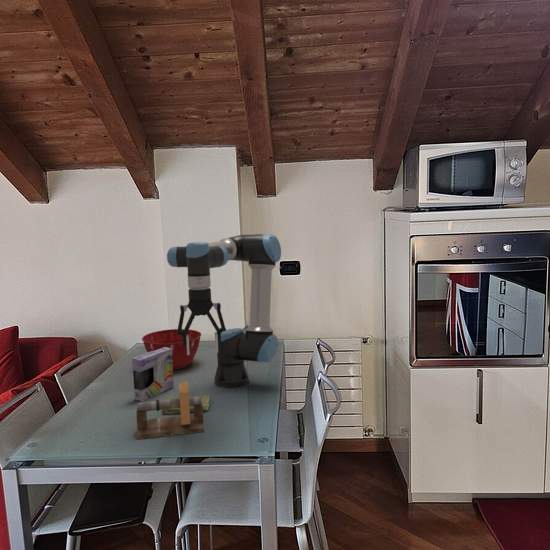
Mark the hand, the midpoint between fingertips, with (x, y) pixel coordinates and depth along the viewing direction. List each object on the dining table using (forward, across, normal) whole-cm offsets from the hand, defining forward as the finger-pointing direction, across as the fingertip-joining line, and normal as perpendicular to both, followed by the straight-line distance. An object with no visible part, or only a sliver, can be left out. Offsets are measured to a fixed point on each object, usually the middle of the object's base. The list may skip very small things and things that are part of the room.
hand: (202, 352), depth 167 cm
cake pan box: (+26, -19, +36) cm, 48 cm away
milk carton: (+26, +29, +77) cm, 86 cm away
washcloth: (+26, -6, +18) cm, 32 cm away
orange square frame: (+22, -7, 0) cm, 24 cm away
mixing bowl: (+26, -11, +74) cm, 79 cm away
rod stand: (+25, -12, 0) cm, 28 cm away
